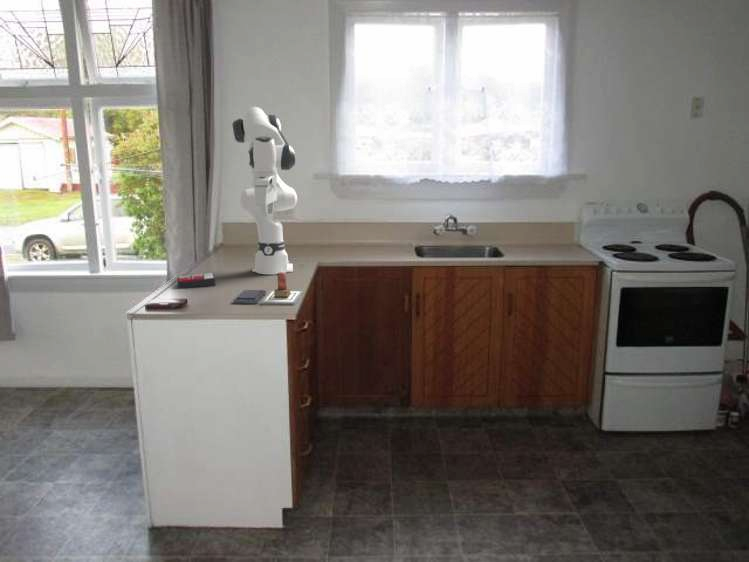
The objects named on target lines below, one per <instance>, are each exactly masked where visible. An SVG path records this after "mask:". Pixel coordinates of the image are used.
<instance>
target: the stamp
mask: <svg viewBox="0 0 749 562" xmlns="http://www.w3.org/2000/svg"><path fill="white" fill-rule="evenodd" d="M276 275H277V287H276V289H275V290H273V291H274V297H275V298H288V297H289V296H290V294H291V293H290V291H291V287H287V272H286V273H285V272H279V273H277V274H276Z"/></svg>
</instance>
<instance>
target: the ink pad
mask: <svg viewBox="0 0 749 562" xmlns="http://www.w3.org/2000/svg"><path fill="white" fill-rule="evenodd" d="M266 296H267V291H266V290H263V289H244V290H242V291H241V292H240V293H239V294H238V295H237V296H235V297H234V299H233V300H232V301H233V305H234V304H236V305H237V304H239V305H240V304H242V305H243V304H245V305H249V304H250V305H251V304H252V305H257V304H258V303H260V302H261V301H262V300H263V299H264V298H265V297H266Z"/></svg>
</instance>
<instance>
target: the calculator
mask: <svg viewBox="0 0 749 562" xmlns="http://www.w3.org/2000/svg"><path fill="white" fill-rule="evenodd" d="M201 287H204V288H208V287H216V278H215V273H213V272H207V273H206V272H205V273H201V272H200V273H194V274H193V273H192V274H186V275H178V277H177V288H178V289H193V288H201Z"/></svg>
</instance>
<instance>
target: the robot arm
mask: <svg viewBox="0 0 749 562" xmlns="http://www.w3.org/2000/svg"><path fill="white" fill-rule="evenodd" d="M280 121H281V120H280V119H279V118H278V116H276V114H267V115H266V113H265V112H264V111H263V109H262V108H260V107H258V106H251V107H249V108H247V109H246V110H245V112H244V113H243V117H242V118H238V119H235V120H234V121H233V122H232V124H231V135H232V137H233V138H234V140H235V142H237V143H240V144H241V143H243V144H244V143H249V145H248V148H249V149H248V157H249V160H248V161H249V163H248V166H250V171H251V176H252V187H251V188H250V187H249V188H247V189H244V190H243V191H242V192H241V194H240V196H239V203H240V205H241V207H242V209H243V210H244V211H245V212H246V213H248V214H249V215H250V216H251V217H252V218H253V219H254V221H255V224H256V226H257V236H258V241H257V249H258V251H257V252H256V253H255V255H254V258H255V259H254V260H255V261H254V262H255V263H254V264H255V265H254V266H255V267H254V268H252V270H251V271H252V273H253V272H254V273H257V274H260V275H277V273H279V272H285V273H286V274H287V273H292V272H293V269H294V268H293V267H294V266H293V265H294V264H293V263H292V262H291V263H290V260H289V258H288V257H289V256H288V253H287V251H286V249H285V248H286V247H285V240H284V233H283V224H282V222H280V221H279V220H277V219H275V218H273V217H271V216H270V215H271V214H274V212H281V211H282V212H283V211H287V210H291V209H293V208H295V207H296V205H297V202H298V195H297V192H296V190H295V189H294V188H293V187H291V186H289V185H287V184H286V183H285V182H284V181H283V180H282V179H281V178H280V176H279V174H278V170H281V171H290V170H291V169H292V168H293V167H294V166H295V165H296V159H297V158H296V152H295V150H294V148H293V147H292V146H291V144H289V143H288V141H287V139H286V138H285V136H284V134H283V133H282V131H281V130H282V125H281V122H280ZM253 186H254V187H253Z"/></svg>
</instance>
